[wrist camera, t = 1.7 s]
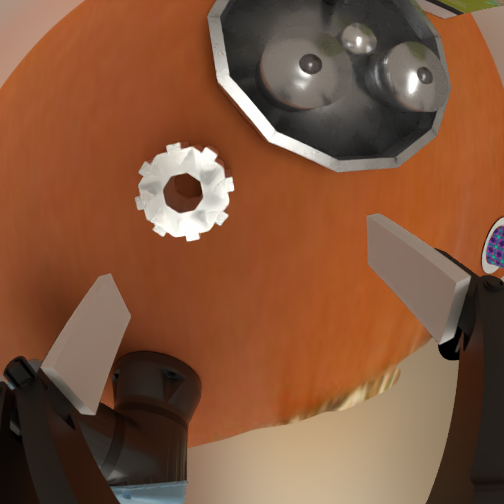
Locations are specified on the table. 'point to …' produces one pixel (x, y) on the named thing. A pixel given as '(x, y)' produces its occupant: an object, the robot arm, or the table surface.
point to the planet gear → (177, 205)
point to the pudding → (494, 249)
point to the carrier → (333, 76)
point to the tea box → (456, 6)
